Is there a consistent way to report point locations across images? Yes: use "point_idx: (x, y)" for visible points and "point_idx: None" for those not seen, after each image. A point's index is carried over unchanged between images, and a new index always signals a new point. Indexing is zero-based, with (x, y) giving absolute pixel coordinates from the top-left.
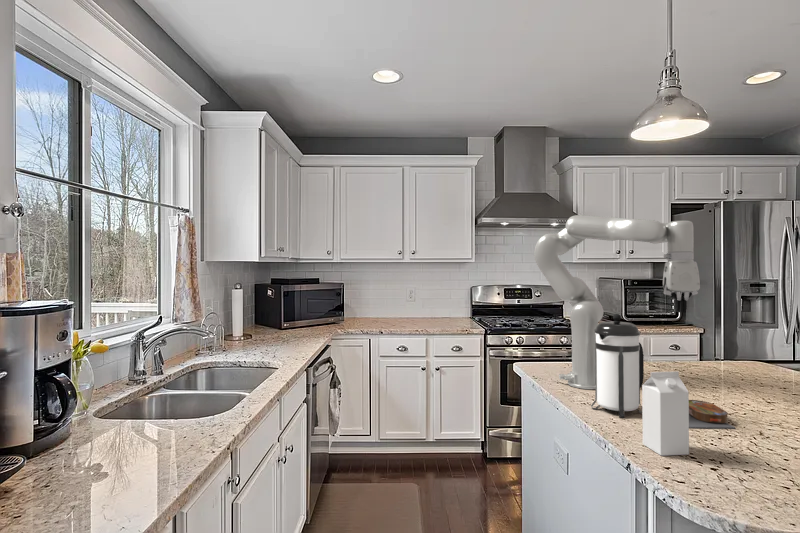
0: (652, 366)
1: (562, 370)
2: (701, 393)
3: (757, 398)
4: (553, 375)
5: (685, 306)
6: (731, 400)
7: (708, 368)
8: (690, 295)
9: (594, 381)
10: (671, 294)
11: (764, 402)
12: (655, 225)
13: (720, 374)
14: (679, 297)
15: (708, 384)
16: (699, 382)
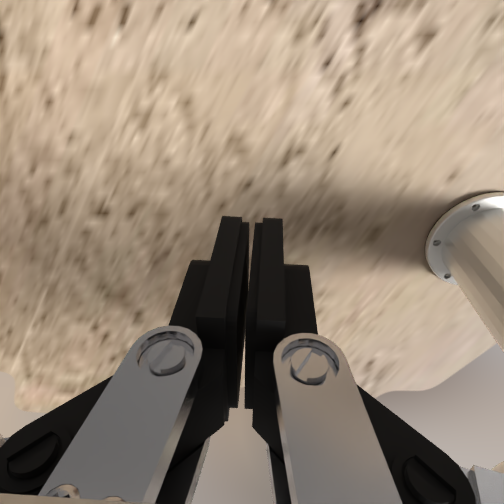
0: None
1: (428, 371)
2: (170, 147)
3: (18, 86)
4: None
5: (216, 253)
6: (111, 60)
7: (45, 368)
8: (48, 423)
9: (491, 216)
10: (457, 488)
11: (11, 34)
12: None
13: (36, 323)
14: (299, 389)
15: (105, 240)
16: (121, 259)
